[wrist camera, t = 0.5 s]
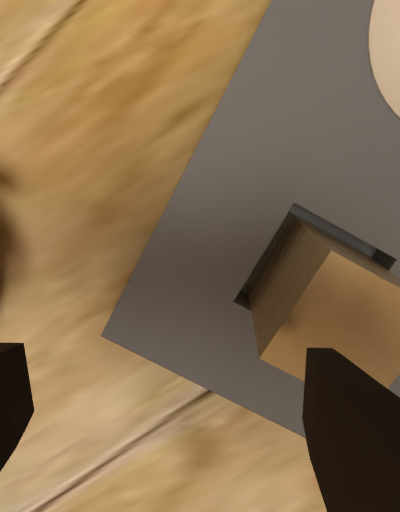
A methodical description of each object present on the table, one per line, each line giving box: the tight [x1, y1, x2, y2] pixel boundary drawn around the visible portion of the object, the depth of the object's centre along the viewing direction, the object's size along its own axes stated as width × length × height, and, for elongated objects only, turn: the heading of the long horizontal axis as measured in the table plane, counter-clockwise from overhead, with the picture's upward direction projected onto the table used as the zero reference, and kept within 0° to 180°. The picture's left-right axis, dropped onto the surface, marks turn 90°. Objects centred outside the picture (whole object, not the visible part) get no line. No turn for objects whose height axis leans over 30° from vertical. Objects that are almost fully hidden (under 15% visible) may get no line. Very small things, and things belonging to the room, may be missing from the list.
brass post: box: [246, 211, 400, 389], centre depth 15 cm, size 4×4×7 cm
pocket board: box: [101, 0, 400, 438], centre depth 16 cm, size 14×24×3 cm, turn 152°
